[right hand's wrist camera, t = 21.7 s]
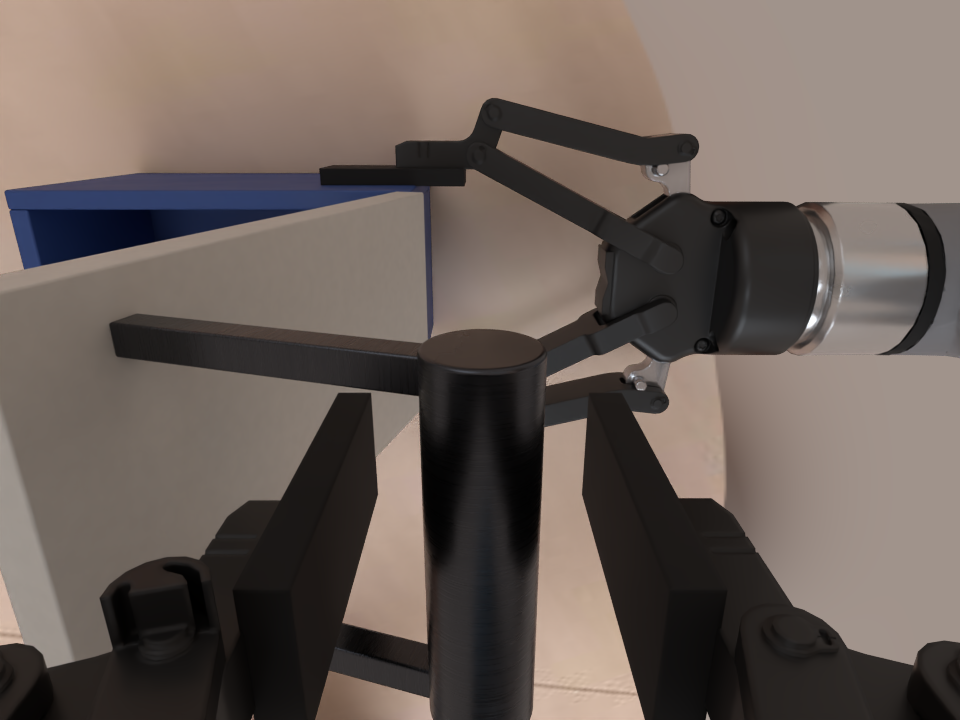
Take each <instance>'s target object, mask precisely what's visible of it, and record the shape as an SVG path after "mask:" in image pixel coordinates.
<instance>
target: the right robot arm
mask: <svg viewBox="0 0 960 720" xmlns="http://www.w3.org/2000/svg"><path fill="white" fill-rule="evenodd" d="M377 496H378V488H377V473H376V458H375V443H374V428H373V413H372V398H371V393H338V394H337V396H336V398H335V400H334V402H333V403H332V405H331V407H330V409H329V411H328V413H327V415H326V417H325V418H324V420H323V422H322V424H321V426H320V428H319V430H318V431H317V433H316V435H315V437H314V439H313V441H312V443H311V444H310V446H309V448H308V450H307V452H306V454H305V456H304V457H303V459H302V461H301V463H300V465H299V467H298V469H297V471H296V472H295V474H294V476H293V478H292V480H291V482H290V484H289V485H288V487H287V489H286V491H285V493H284V495H283V497H282V498H281V500H249V501H247V502H246V503H245V504H243V505H242V506H241V507H239V508H238V509H237V510H235V511H234V512H233V513H231V514H230V515H229V516H227V518H226V519H225V521H224V522H223V524H222V525H221V527H220V529H219V530H218V532H217V533H216V535H215V539H212V541H211V542H210V544H209V545H208V547H207V548H206V550H205V555H202V556H201V558H200V559H199V560H198V559H194V558H190V557H187V556H180V557H165V558H161V559H157V560H153V561H149V562H145V563H143V564H141V565H139V566H137V567H135V568H133V569H131V570H128V571H126V572H125V573H124V574H122V575H121V576H120V577H118V578H117V579H116V580H114V581H113V582H112V583H110V584H109V585H108V587H107V588H106V590H105V591H104V592H103V594H102V595H101V596H100V598H99V599H100V602H101V606H102V610H103V614H104V618H105V621H106V625H107V629H108V633H109V636H110V640H111V644H112V648H113V649H112V651H111V652H108V653H105V654H102V655H99V656H95V657H91V658H87V659H83V660H79V661H75V662H70V663H66V664H62V665H58V666H54V667H50V668H47V666H46V663H45V660H44V657H43V654H42V653H41V652H40V651H39V650H37V649H36V648H35V647H34V646H31V645H25V644H19V643H14V644H8V645H1V646H0V720H251V718H252V715H253V714H254V720H315V718H316V714H317V711H318V707H319V704H320V700H321V696H322V693H323V689H324V686H325V682H326V679H327V675H328V671H329V668H330V664H331V661H332V657H333V653H334V650H335V646H336V643H337V639H338V636H339V632H340V628H341V625H342V621H343V618H344V614H345V611H346V607H347V603H348V600H349V596H350V593H351V589H352V585H353V582H354V578H355V575H356V571H357V568H358V564H359V560H360V557H361V553H362V550H363V546H364V542H365V539H366V535H367V532H368V528H369V525H370V521H371V517H372V514H373V510H374V507H375V503H376V500H377ZM582 496H583V500H584V503H585V507H586V510H587V514H588V517H589V521H590V525H591V528H592V532H593V535H594V539H595V542H596V546H597V550H598V553H599V557H600V560H601V564H602V568H603V571H604V575H605V578H606V582H607V585H608V589H609V593H610V596H611V600H612V603H613V607H614V611H615V614H616V618H617V621H618V625H619V628H620V632H621V636H622V639H623V643H624V646H625V650H626V653H627V657H628V661H629V664H630V668H631V671H632V675H633V679H634V682H635V686H636V689H637V693H638V696H639V700H640V704H641V707H642V711H643V714H644V718H645V720H706V714H707V712H708V715H709V717H710V720H960V643H957V642H950V641H939V642H933V643H927V644H926V645H925V646H924V647H923V648H922V649H921V650H919V651H918V653H917V657H916V660H915V663H914V666H913V665H909V664H905V663H900V662H896V661H892V660H888V659H884V658H879V657H875V656H871V655H867V654H863V653H860V652H857V651H854V650H851V649H848V648H847V647H846V645H845V643H844V642H843V640H842V639H841V637H840V636H839V634H838V633H837V632H836V631H835V630H834V629H833V628H831V627H830V626H829V625H828V624H827V623H826V622H824V621H823V620H822V619H820V618H818V617H816V616H814V615H812V614H810V613H809V612H807V611H805V610H802V609H799V608H795V607H793V605H792V604H791V602H790V601H789V599H788V598H787V596H786V595H785V593H784V592H783V590H782V589H781V587H780V585H779V584H778V582H777V581H776V579H775V578H774V576H773V575H772V573H771V572H770V570H769V569H768V567H767V566H766V564H765V563H764V561H763V560H762V558H761V557H760V555H759V553H756V552H755V547H754V546H753V544H752V543H751V541H750V540H749V538H748V537H745V532H744V531H743V529H742V528H741V526H740V524H739V523H738V521H737V520H736V518H735V517H734V515H733V514H732V513H730V512H729V511H728V510H726V509H725V508H724V507H722V506H721V505H720V504H718V503H717V502H715V501H714V500H713V499H711V498H678V497H677V495H676V493H675V491H674V489H673V487H672V485H671V484H670V482H669V480H668V478H667V476H666V474H665V472H664V471H663V469H662V467H661V465H660V463H659V461H658V459H657V457H656V456H655V454H654V452H653V450H652V448H651V446H650V444H649V443H648V441H647V439H646V437H645V435H644V433H643V431H642V430H641V428H640V426H639V424H638V422H637V420H636V418H635V417H634V415H633V413H632V411H631V409H630V407H629V405H628V403H627V402H626V400H625V398H624V396H623V394H622V393H589V398H588V413H587V428H586V443H585V458H584V473H583V488H582Z"/></svg>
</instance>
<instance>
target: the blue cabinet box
mask: <svg viewBox="0 0 960 720" xmlns="http://www.w3.org/2000/svg"><path fill="white" fill-rule="evenodd" d="M392 192H422V193H423V195H424V228H425V262H426V296H427V330H428V339H430V338H431V333H432V328H433V293H432V254H431V216H430V186H415V185H321V182H320V173H136V174H129V175H121V176H113V177H105V178H97V179H89V180H81V181H74V182H66V183H58V184H50V185H42V186H34V187H27V188H19V189H11V190H6V191H5V196H6V200H7V204H8V208H9V209H11V210H10V216H11V220H12V223H13V227H14V231H15V235H16V239H17V243H18V247H19V251H20V255H21V259H22V263H23V267H24V270H25V269H29V268H34V267H39V266H44V265H49V264H53V263H58V262H63V261H68V260H72V259H77V258H82V257H87V256H92V255H96V254H101V253H106V252H111V251H115V250H120V249H125V248H130V247H135V246H139V245H144V244H149V243H154V242H158V241H163V240H168V239H173V238H177V237H182V236H187V235H192V234H197V233H201V232H206V231H211V230H216V229H220V228H225V227H230V226H235V225H240V224H244V223H249V222H254V221H259V220H263V219H268V218H273V217H278V216H283V215H287V214H292V213H297V212H302V211H306V210H311V209H316V208H321V207H325V206H330V205H335V204H340V203H345V202H349V201H354V200H359V199H364V198H368V197H373V196H378V195H383V194H388V193H392Z"/></svg>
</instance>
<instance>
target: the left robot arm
mask: <svg viewBox="0 0 960 720" xmlns="http://www.w3.org/2000/svg"><path fill="white" fill-rule="evenodd" d="M502 130H503V131H507V132H510V133H514V134H518V135H522V136H526V137H530V138H533V139H537V140H541V141H545V142H549V143H553V144H556V145H560V146H564V147H568V148H572V149H575V150H579V151H583V152H587V153H591V154H595V155H598V156H602V157H606V158H610V159H614V160H618V161H622V162H626V163H631V164H636V165H641V172H642V174H643V176H644V177H645V178H646V179H648V180H651V181H655V182H659V183H660V184H661V185H662V187H663V190H664V194H662V195H661V196H659V197H658V198H657V199H655V200H654V201H652V202H651V203H649V204H648V205H646V206H645V207H644V208H642V209H641V210H639V211H638V212H636V213H635V214H633V215H632V216H631V217H629V218H628V219H624V218H622V217H620V216H618V215H616V214H615V213H613V212H611V211H609V210H607V209H606V208H604V207H602V206H600V205H598V204H596V203H594V202H593V201H591V200H589V199H587V198H585V197H583V196H582V195H580V194H578V193H576V192H574V191H573V190H571V189H569V188H567V187H565V186H564V185H562V184H560V183H558V182H556V181H554V180H553V179H551V178H549V177H547V176H545V175H544V174H542V173H540V172H538V171H536V170H534V169H533V168H531V167H529V166H527V165H525V164H524V163H522V162H520V161H518V160H516V159H515V158H513V157H511V156H509V155H507V154H505V153H504V152H502V151H500V150H498V149H496V146H497V144H498V141H499V138H500V135H501V132H502ZM395 149H396V165H332V166H328V167H324V168H320V169H319V170H320V182H321V185H415V186H464V185H465V182H466V169H475V170H477V171H479V172H481V173H482V174H484V175H486V176H488V177H490V178H492V179H493V180H495V181H497V182H499V183H501V184H503V185H505V186H506V187H508V188H510V189H512V190H514V191H516V192H517V193H519V194H521V195H523V196H525V197H527V198H528V199H530V200H532V201H534V202H536V203H538V204H540V205H541V206H543V207H545V208H547V209H549V210H551V211H552V212H554V213H556V214H558V215H560V216H562V217H564V218H565V219H567V220H569V221H571V222H573V223H575V224H576V225H578V226H580V227H582V228H584V229H586V230H588V231H589V232H591V233H593V234H594V235H596V236H598V237H599V238H601V239H603V242H602V245H599V248H598V263H599V268H600V273H601V275H600V279H599V281H598V284H597V287H596V292H595V305H596V307H597V308H595V309H593V310H591V311H589V312H587V313H585V314H583V315H582V316H580V317H579V319H578V320H577V321H575V322H573V323H571V324H569V325H567V326H565V327H562V328H560V329H558V330H556V331H554V332H552V333H550V334H548V335H546V336H544V337H542V338H540V339H538V341H539V342H541V343H542V344H543V345H544V346H545V349H546V351H547V371H546V377H547V376H549V375H552V374H554V373H556V372H558V371H560V370H562V369H564V368H567V367H569V366H571V365H573V364H575V363H577V362H579V361H581V360H584V359H586V358H588V357H590V356H592V355H603V354H605V353H608V352H610V351H612V350H614V349H616V348H618V347H620V346H623V345H625V344H627V343H631V344H632V345H633V346H635V347H636V348H637V349H639V350H640V351H641V352H643V353H644V354H646V355H647V357H646V358H645V360H644V361H643V362H641V363H639V364H634V365H629V366H628V367H627V368H626V369H625V370H624V372H623V373H622V372H616V373H606V374H600V375H596V376H591V377H587V378H582V379H577V380H573V381H568V382H564V383H559V384H555V385H550V386H546V395H545V420H544V427H547V426H552V425H556V424H561V423H566V422H570V421H575V420H580V419H584V418H587V413H588V398H589V393H622V394H623V396H624V398H625V400H626V402H627V403H628V405H629V407H630V409H631V411H635V412H645V413H654V414H656V413H661V412H663V411H665V410H666V409H667V407H668V405H669V399H668V397H667V395H666V394H665V392H664V387H665V383H666V379H667V375H668V370H669V366H670V363H671V362H674V361H677V360H679V359H680V358H683V357H685V356H688V355H692V354H711V355H777V354H781V353H783V352H785V351H786V350H787V351H788V352H790V353H791V354H795V355H870V354H874V355H939V356H951V357H958V358H960V203H936V204H935V203H934V204H906V203H847V202H805V203H803V204H800V205H798V206H795V205H793V204H791V203H789V202H710V201H703V200H701V199H699V198H698V197H696V196H695V195H693V194H690V161H691V160H692V159H693V158H694V157H695V156H696V155H697V153H698V150H699V143H698V140H697V139H696V137H694V136H693V135H691V134H662V135H653V136H644V137H641V136H637V135H634V134H630V133H626V132H622V131H618V130H615V129H611V128H607V127H603V126H600V125H596V124H592V123H588V122H585V121H581V120H577V119H573V118H570V117H566V116H562V115H558V114H554V113H551V112H547V111H543V110H539V109H536V108H532V107H528V106H524V105H521V104H517V103H513V102H509V101H506V100H502V99H498V98H491V99H489V100H487V101H486V102H485V103H484V104H483V105H482V108H481V110H480V113H479V116H478V119H477V122H476V125H475V128H474V130H473V133H472V134H471V135H470V136H469V137H468V138H467V139H465V140H461V141H406V142H403V143H401V144H399V145H396V146H395Z"/></svg>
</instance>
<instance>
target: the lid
mask: <svg viewBox="0 0 960 720" xmlns="http://www.w3.org/2000/svg"><path fill="white" fill-rule="evenodd" d="M546 371H547V351H546V349H545V346H544V345H543V344H542V343H541V342H539V341H538V340H536V339H534V338H532V337H529V336H526V335H523V334H519V333H515V332H510V331H503V330H493V329H471V330H460V331H454V332H449V333H444V334H441V335H438V336H435V337H432V338H430V339H428V330H427V296H426V262H425V228H424V195H423V193H422V192H392V193H388V194H383V195H378V196H373V197H368V198H364V199H359V200H354V201H349V202H345V203H340V204H335V205H330V206H325V207H321V208H316V209H311V210H306V211H302V212H297V213H292V214H287V215H283V216H278V217H273V218H268V219H263V220H259V221H254V222H249V223H244V224H240V225H235V226H230V227H225V228H220V229H216V230H211V231H206V232H201V233H197V234H192V235H187V236H182V237H177V238H173V239H168V240H163V241H158V242H154V243H149V244H144V245H139V246H135V247H130V248H125V249H120V250H115V251H111V252H106V253H101V254H96V255H92V256H87V257H82V258H77V259H72V260H68V261H63V262H58V263H53V264H49V265H44V266H39V267H34V268H29V269H25V270H20V271H15V272H10V273H6V274H1V275H0V570H1V573H2V576H3V579H4V582H5V585H6V589H7V592H8V595H9V598H10V601H11V604H12V607H13V610H14V613H15V616H16V619H17V623H18V626H19V629H20V632H21V635H22V638H23V641H24V644H25V645H31V646H34V647H35V648H36V649H37V650H39V651H40V652H41V653H42V654H43V657H44V660H45V663H46V666H47V668H50V667H54V666H58V665H62V664H66V663H70V662H75V661H79V660H83V659H87V658H91V657H95V656H99V655H102V654H105V653H108V652H111V651H112V649H113V648H112V644H111V640H110V636H109V633H108V629H107V625H106V621H105V618H104V614H103V610H102V606H101V602H100V599H99V598H100V596H101V595H102V594H103V592H104V591H105V590H106V588H107V587H108V585H109V584H110V583H112V582H113V581H114V580H116V579H117V578H118V577H120V576H121V575H122V574H124V573H125V572H126V571H128V570H131V569H133V568H135V567H137V566H139V565H141V564H143V563H145V562H149V561H153V560H157V559H161V558H165V557H180V556H187V557H190V558H194V559H198V560H199V559H200V558H201V556H202V555H205V550H206V548H207V547H208V545H209V544H210V542H211V541H212V539H215V535H216V533H217V532H218V530H219V529H220V527H221V525H222V524H223V522H224V521H225V519H226V518H227V516H229V515H230V514H231V513H233V512H234V511H235V510H237V509H238V508H239V507H241V506H242V505H243V504H245V503H246V502H247V501H249V500H281V498H282V497H283V495H284V493H285V491H286V489H287V487H288V485H289V484H290V482H291V480H292V478H293V476H294V474H295V472H296V471H297V469H298V467H299V465H300V463H301V461H302V459H303V457H304V456H305V454H306V452H307V450H308V448H309V446H310V444H311V443H312V441H313V439H314V437H315V435H316V433H317V431H318V430H319V428H320V426H321V424H322V422H323V420H324V418H325V417H326V415H327V413H328V411H329V409H330V407H331V405H332V403H333V402H334V400H335V398H336V396H337V394H338V393H371V398H372V413H373V428H374V443H375V458H376V457H377V455H378V454H379V453H380V452H381V451H382V450H383V449H384V448H385V447H386V446H387V445H388V444H389V443H390V442H391V441H392V440H393V439H394V438H395V437H396V436H397V435H398V434H399V432H400V431H401V430H402V429H403V428H404V427H405V426H406V425H407V424H408V423H409V422H410V421H411V420H412V419H413V418H414V417H415V416H416V415H417V414H418V413H419V418H420V446H421V473H422V501H423V529H424V556H425V584H426V612H427V639H428V644H424V643H420V642H416V641H412V640H408V639H404V638H400V637H396V636H392V635H388V634H384V633H380V632H376V631H372V630H368V629H364V628H360V627H356V626H352V625H348V624H344V623H342V625H341V628H340V632H339V636H338V639H337V643H336V646H335V650H334V653H333V657H332V661H331V664H330V668H329V671H333V672H337V673H340V674H344V675H348V676H351V677H355V678H358V679H362V680H366V681H369V682H373V683H377V684H380V685H384V686H388V687H391V688H395V689H398V690H402V691H406V692H409V693H413V694H417V695H420V696H424V697H427V698H430V711H431V715H432V718H433V720H530V717H531V715H532V710H533V691H534V666H535V641H536V617H537V592H538V568H539V543H540V518H541V494H542V469H543V444H544V420H545V395H546Z"/></svg>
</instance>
